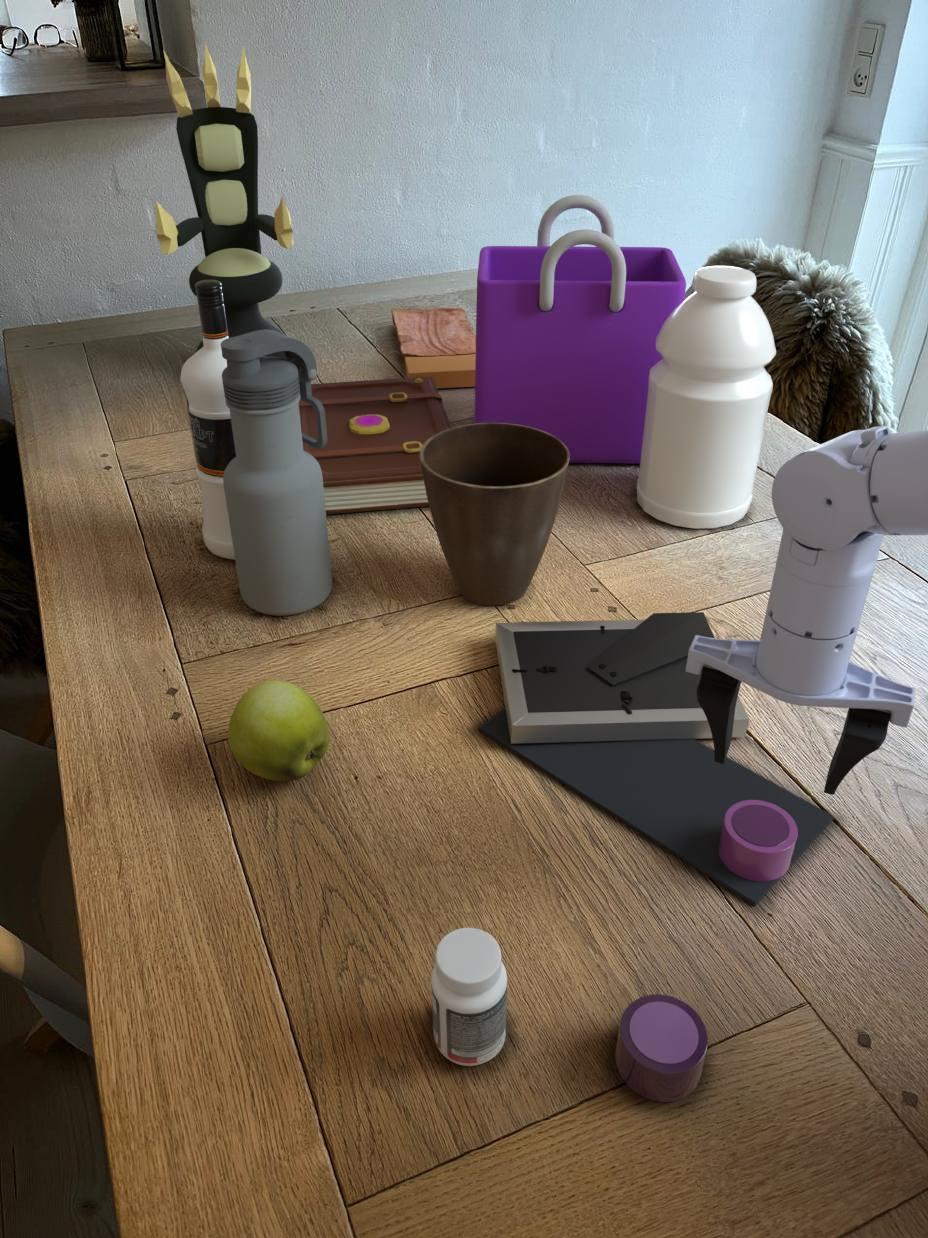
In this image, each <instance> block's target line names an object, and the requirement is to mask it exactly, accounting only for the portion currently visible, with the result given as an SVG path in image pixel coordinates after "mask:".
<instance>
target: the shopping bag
mask: <svg viewBox="0 0 928 1238" xmlns="http://www.w3.org/2000/svg"><path fill="white" fill-rule="evenodd" d="M572 209H573V210H574V209H582V210H585V211H589V212H590V213H592V214H593V215H594V216H595V217H596V218H597V220H598V221H599V225H600V229H601V230H600V231H599V230H595V229H589V228H588V229H577V230H572V231H570V232H567V233H565V234H564V235H562V236H560V237H559V238H557V239H556V240H555V241H554V242H553V243H552V245H550V243H551V231H552V227H553V224H554V222H555V220H556V219H557V218H558V217H559V216H560V215H561V214H563V213H564V212H566V211H568V210H572ZM614 237H615V226H614V221H613V218H612V215H611V214H610V212H609V210H608V209H607V207H606V206H604V204H603V203H602V202H600V201H599V200H598V199H596V198H594V197H591V196H588V195H584V194H572V195H567V196H564V197H561V198H559V199H558V200H556V201H555V202H553V203H552V204H551V205H549V206H548V207H547V209H546V210H545V212H544V213H543V215H542V216H541V219H540V221H539V225H538V229H537V241H536V243H537V245H488V246H487V245H485V246H483V247H481V248H480V251H479V257H478V268H477V274H476V275H477V276H476V310H475V311H476V313H475V317H476V318H475V335H476V361H475V386H474V411H473V412H474V413H473V414H474V417H473V419H474V420H473V422H474V423H473V424H475V423H510V424H518V425H524V426H529V427H532V428H536V429H539V430H542V431H545V432H547V433H549V434H551V435H553V436H555V437H557V438H558V439H559V440H561V441H562V442H563V443H564V444H565V446H566V447H567V448H568V450H569V454H570V459H569V463H573V464H575V463H581V464H583V463H585V464H636V465H637V464H639V465H640V461H641V451H642V441H643V432H644V423H645V414H646V405H647V395H648V384H649V372H650V369H651V368H652V367H653V366H654V365H655V364H656V363H657V362H659V361H661V360H662V359H663V357H662V356H661V355H660V353H659V352H658V351H657V350H656V337H657V336H658V334H659V332H660V330H661V328H662V326H663V324H664V322H665V321H666V319H667V318H668V317H669V315H670V314H671V313H672V312H673V311H674V310H675V308H676V307H677V306H678V305H680V304H681V303H682V302H683V301H684V300H685V299H686V290H687V289H686V288H687V281H686V278H685V275H684V273H683V271H682V269H681V267H680V264H679V263H678V261H677V259H676V256H675V254H674V251H673V250H672V249H670V248H667V247H661V246H619V244H617V242H616V241H615V240H614ZM581 245H589V246H581Z"/></svg>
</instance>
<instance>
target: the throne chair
mask: <svg viewBox="0 0 928 1238" xmlns="http://www.w3.org/2000/svg"><path fill="white" fill-rule="evenodd" d="M162 51H163V55H164V60H165V77H166V78H165V80H166V82H167V87H168V89H169V92H170V96H171V98H172V102H173V104H174V107H175V109H176V112H177V114H178V117H177V118H176V124H175V129H176V135H177V139H178V143H179V148H180V151H181V154H182V159H183V162H184V167H185V170H186V173H187V177H188V181H189V186H190V189H191V193H192V198H193V202H194V205H195V209H196V214H197V216H196V217H188V218H186V219H184V220H181V222H179V223H178V224H176V223H175V220H174V217H173V216H172V215H171V214H170V213H169V212H168V211H167V210H166V209H165V208H163V207H162V205H161V204H160V203H159V202H158V201H157V200H155V221H156V223H155V224H156V225H155V226H156V238H157V241H158V243H159V245H160V249H161V252H162V256H169V255H171V254H173V253H174V252H177V250H178V248H180V247H182V246H185V245H186V244H187V243H188V242H190V241H191V240H192V239H194V238H195V237H196V236H198V235H199V234H200V233H201V234H200V235H201V240H202V246H203V251H204V258H203V259H202V260H201V261H200V262H199V263H198V264H197V265H195V267H194V268H193V269H192V270H191V271H190V274H189V278H188V284H189V288H190V291H191V292H192V293H193V296H195V297H196V298H197V294H196V288H195V284H196V283H197V282H199V281H202V280H217V281H219V282H221V284H222V286H221V287H222V293H223V300H224V303H223V304H224V307H225V315H226V322H227V329H228V337H229V338H231V337H236V336H239V335H243V334H246V333H250V332H253V331H258V330H264V329H268V330H274V331H277V332H279V333H282V334H284V335H286V334H285V333H284V332H282V331H281V330H280V329H279V328H277V327H276V326H275V325H273V324H271V323H270V322H269V321H268V320H267V319H265V318H264V316H263V315H262V313H261V311H260V306H259V304H260V303H263V302H265V301H268V300H270V299H271V298H273V297H274V296H276V295H277V294H278V293H279V292H280V290H281V288H282V286H283V274H282V271H281V269H280V268H279V266H278V265H277V264H276V263H275V262H274V261H271V260H270V259H268V258H266V257H265V256H264V255H263V254H262V243H261V233H263V234H264V235H266V236H267V237H269V238H270V239H272V240H273V241H277V243H278V244H279V246H280V247H282V248H284V249H286V250H291V249H293V247H294V231H293V228H292V219H291V213H290V210H289V209H288V207H287V204H286V202H285V199H284V196H283V195H282V196H281V198H280V201H279V204H278V206H277V207H276V209H275V211H274V212H273V215H274V216H272V215H269V214H265V213H263V214H262V213H260V214H259V134H258V132H259V131H258V124H257V121H256V118H255V115H254V114H253V113H251V112H252V111H251V108H252V107H251V106H252V79H251V75H252V74H251V71H250V68H249V64H248V60H247V57H246V51H245V45H243V46H242V51H241V59H240V61H239V65H238V68H237V71H236V88H235V91H236V94H235V104H236V105H235V107H228V106H227V107H226V106H221V97H220V89H219V82H218V74H217V68H216V66H215V64H214V62H213V59H212V57H211V54H210V51H209V48H208V44H207V41H206V40H204V57H203V64H202V78H203V85H204V86H203V87H204V94H205V95H204V96H205V100H206V101H205V102H206V107H202V108H198V109H193V108H192V106H191V103H190V100H189V97H188V94H187V91H186V88H185V86H184V84H183V81H182V79H181V75H180V74H179V73H178V71H177V70H176V69H175V67H174V65H173V64H172V63H171V61H170V58H169V57H168V55H167V53H166V51H165V49H163V50H162ZM260 232H261V233H260ZM203 346H204V344H203V339H202V340H201V342H200V343H199V344H198V346H197V347H196V350H195V352H194V354H195V353H196V352H197V351H199V350H200V349H201V348H202V347H203ZM264 356H273V357H279V358H282V359H285V360H286V356H285V354H284V352H283V351H280V352H275V353H271V354H268V355H264Z"/></svg>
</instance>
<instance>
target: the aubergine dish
mask: <svg viewBox="0 0 928 1238" xmlns="http://www.w3.org/2000/svg"><path fill="white" fill-rule="evenodd" d="M708 1046H709V1035H708V1030H707V1027H706V1025H705V1023H704V1021H703V1020H702V1018H701V1015H699V1014H698V1012H697V1011H696V1010H695V1009H694V1008H693V1007H692V1006H690V1005H689V1004H688V1003H686V1002H685V1001H683V1000H681V999H680V998H677V997H674V996H671V995H666V994H659V993H658V994H657V993H656V994H648V995H644V996H640V997H639V998H637V999H635V1000H633V1001H632V1002H631V1003H630V1004H628V1006H627V1007H626V1008H625V1009H624V1011H623V1013H622V1015H621V1018H620V1021H619V1027H618V1034H617V1041H616V1047H615V1057H614V1058H615V1064H616V1068H617V1071H618V1073H619V1075H620V1077H621V1078H622V1080H623V1082H624V1083H625V1084H626V1085H627V1086H628V1087H629V1088H630V1089H631V1090H632V1091H633V1092H634V1093H636V1094H637V1095H639V1096H640V1097H642V1098H644V1099H646V1100H650V1101H653V1102H659V1103H672V1102H676V1101H679V1100H683V1099H684V1098H686V1097H687V1096H689V1095H690V1094H691V1093H692V1092H693V1091H694V1090H695V1089H696V1087H698V1084H699V1082H700V1079H701V1076H702V1072H703V1069H704V1063H705V1060H706V1055H707V1050H708V1048H709V1047H708Z"/></svg>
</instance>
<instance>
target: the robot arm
mask: <svg viewBox="0 0 928 1238" xmlns="http://www.w3.org/2000/svg"><path fill="white" fill-rule="evenodd" d="M771 486H772V487H771V502H772V507H773V510H774V513H775V516H776V518H777V520H778V522H779V524H780V526H781V527H782V532H781V533H782V534H781V538H780V542H779V547H778V551H777V558H776V562H775V566H774V571H773V577H772V580H771V585H770V590H769V596H768V601H767V605H766V610H765V615H764V619H763V624H762V630H761V634H760V638H759V639H757V640H756V639H732V638H716V637H715V638H709V637H703V636H698V635H695V637H694V639H693V642H692V644H691V646H690V648H689V652H688V658H687V665H686V672H689V673H693V674H697V675H699V674H701V673H702V674H701V678H700V682H699V685H698V687H697V700H698V703H699V704H700V706H701V708H702V709H703V711H704V713H705V716H706V718H707V720H708V723H709V726H710V729H711V733H712V738H711V739H712V743H713V750H714V753H715V759H714V761H715V762H717V763H721V764H724V762H725V759H726V757H727V755H728V753H729V750H730V748H731V743H732V739H733V737H732V733H733V724H734V715H735V707H736V702H737V698H738V696H739V693H740V689H741V688H740V687H741V684H742V683H743V684H746V685H747V686H749V687H751V688H753V689H755V690H757V691H760V692H762V693H764V694H765V695H768V696H770V697H771V698H774V699H775V700H778V701H781V702H784V703H786V704H790V705H795V706H800V707H815V708H816V707H817V708H836V709H837V708H838V709H839V708H840V709H848V710H847V713H846V717H845V721H844V724H843V728H842V732H841V735H840V738H839V740H838V743H837V745H836V748H835V750H834V753H833V755H832V758H831V760H830V764H829V768H828V771H827V775H826V780H825V784H824V788H823V793H824V794H828V795H831V796H834V795H835V793H836V792H837V789H838V788H839V786H840V784H841V783H842V781H843V780H844V779H845V778H846V777H847V775H848V774H849V773H850V771H852V770H853V768H854V767H856V766H857V764H859V763H860V762H861V761H862V760H864V759H865V758H866V757H868V756H870V755H871V754H872V753H874V752H876V751H878V750H879V749H880V748H881V746H882V745H883V744H884V742H885V741H886V738H887V736H888V735H887V734H888V729H889V725H890V724H891V725H893V726H897V727H900V728H908V726H909V723H910V719H911V716H912V714H913V711H914V708H915V704H916V703H915V702H916V695H917V688H916V687H914V686H909V685H906V684H903V683H901V682H897V681H894V680H892V679H890V678H888V677H884V676H883V675H880V674H878V673H876V672H873V671H871V670H869V669H867V668H865V667H863V666H860V665H858V664H856V663H854V662H851V656H852V654H853V653H852V652H853V648H854V645H855V641H856V637H857V634H858V630H859V628H860V623H861V618H862V615H863V612H864V609H865V605H866V601H867V597H868V593H869V590H870V587H871V582H872V579H873V576H874V573H875V569H876V566H877V561H878V557H879V553H880V550H881V547H882V543H883V541H884V536H889V537H890V536H928V429H922V430H912V431H902V432H891V433H890V428H889V426H887V425H879V426H872V427H870V428H867V429H855V430H852V431H849V432H846V433H844V434H841V435H839V436H837V437H834V438H832V439H829V440H827V441H826V442H825V441H824V442H823V443H820V444H819V445H816V446H813V447H811V448H810V449H809V448H808V449H807V450H805V451H803V452H801V453H798V454H796V455H795V456H793V457H792V458H790V459H788V460H787V461H786V462H784V463H783V464H782V465H781V466H780V468H778V471H777V472H776V474H775V476H774V478H773V482H772V485H771Z"/></svg>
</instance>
